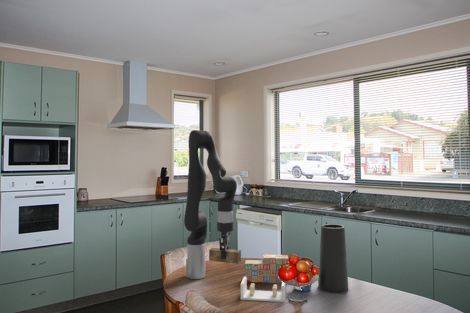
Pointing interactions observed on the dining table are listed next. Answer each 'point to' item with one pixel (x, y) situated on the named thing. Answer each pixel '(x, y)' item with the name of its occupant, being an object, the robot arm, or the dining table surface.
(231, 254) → the plank
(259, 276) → the stack of blocks
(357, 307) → the dining table surface
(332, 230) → the vase
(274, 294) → the peg stand
